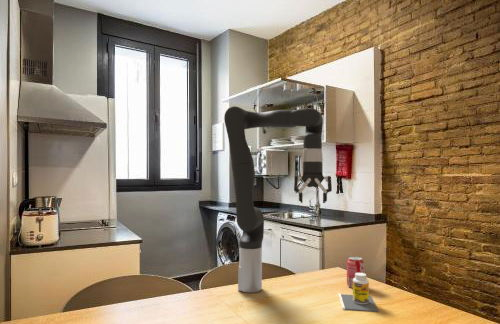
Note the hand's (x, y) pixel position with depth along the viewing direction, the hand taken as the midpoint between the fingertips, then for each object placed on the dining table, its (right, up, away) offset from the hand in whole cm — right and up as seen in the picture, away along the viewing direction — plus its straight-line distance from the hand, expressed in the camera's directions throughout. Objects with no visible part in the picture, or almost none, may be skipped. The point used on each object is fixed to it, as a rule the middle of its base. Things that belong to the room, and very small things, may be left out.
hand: (312, 202), depth 130 cm
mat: (+15, -36, -6) cm, 40 cm away
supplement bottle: (+16, -36, -7) cm, 40 cm away
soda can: (+20, -37, +11) cm, 43 cm away
